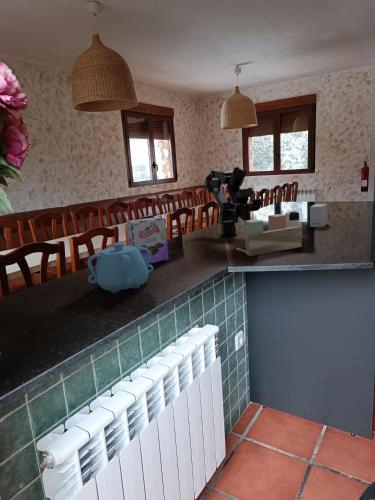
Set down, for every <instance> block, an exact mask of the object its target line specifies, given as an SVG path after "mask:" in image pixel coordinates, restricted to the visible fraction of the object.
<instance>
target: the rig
mask: <svg viewBox="0 0 375 500" xmlns="http://www.w3.org/2000/svg"><path fill="white" fill-rule="evenodd" d="M302 240H303V226H302V227H300V226H297V227H290V228H284V229H278V230H271V231H268V230H267V231H263V232H258V233H252V234H247V251H246V249H243V248H240V247H236V248H235V249H236V250H237V251H239V252H243V253H245V254H246V256H249V257H252V256H258V255H263V254H269V253H273V252H274V253H275V252H279V251H284V250H286V251H287V250H290V249H297V248H301V247H302V245H303V244H302V243H303V241H302Z"/></svg>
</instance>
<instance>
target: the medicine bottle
mask: <svg viewBox="0 0 375 500" xmlns="http://www.w3.org/2000/svg"><path fill="white" fill-rule="evenodd" d="M284 215H286V228H290V227H297V226H300V227H302V228H303V224H302V223H301V222H300V213H299V211H295V210H294V211H293V210H292V211H287V212H285V213H284Z"/></svg>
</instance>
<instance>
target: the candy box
mask: <svg viewBox="0 0 375 500" xmlns="http://www.w3.org/2000/svg"><path fill="white" fill-rule="evenodd" d="M126 231H127V239H128V246H134V247H136V248H139V247H145V248H147V249H148V250H149V251H150V253H151V257H150V262H149V265H151V264H156V263H159V262H166V261H169V260H170V257H169V256H170V255H169V254H170V253H169V244H168V243H169V242H168V231H167V221H166V217H162V216H155V217H148V218H140V219H133V220H126ZM139 252H140V254H141V255H142V257H143V259H144V261H145V263H146V259H147V252H146V251H144V250H141V251H139Z"/></svg>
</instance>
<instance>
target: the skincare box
mask: <svg viewBox="0 0 375 500" xmlns="http://www.w3.org/2000/svg"><path fill="white" fill-rule="evenodd" d="M327 224H328V203H318V204H317V203H314V204H313V205H311V206H309V227H310V228H313V227H314V228H323V227H324V226H326V225H327Z"/></svg>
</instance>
